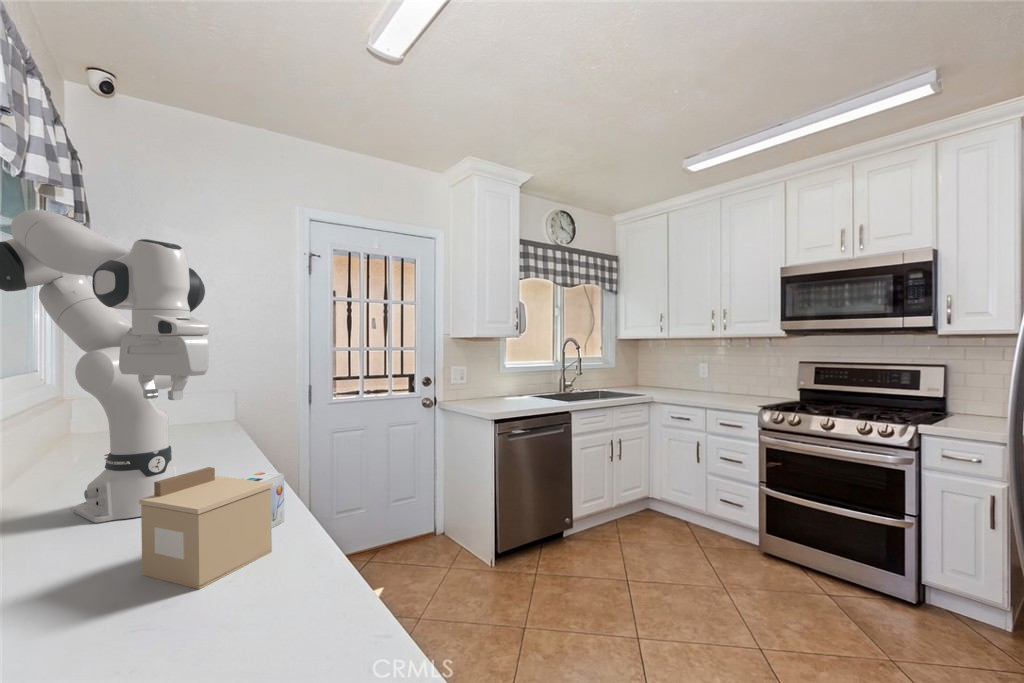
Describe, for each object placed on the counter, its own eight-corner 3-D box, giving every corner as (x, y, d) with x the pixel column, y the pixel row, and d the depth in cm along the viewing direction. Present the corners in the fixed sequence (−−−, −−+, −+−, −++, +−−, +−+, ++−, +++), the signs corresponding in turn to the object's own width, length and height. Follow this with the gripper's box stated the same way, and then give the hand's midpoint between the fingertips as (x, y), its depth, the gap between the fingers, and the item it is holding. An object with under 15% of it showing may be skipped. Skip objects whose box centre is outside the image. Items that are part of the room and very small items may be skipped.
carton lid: (139, 504, 80) (138, 485, 80) (218, 480, 93) (217, 464, 93) (198, 514, 75) (197, 494, 75) (272, 487, 88) (272, 470, 88)
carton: (141, 575, 80) (140, 505, 80) (218, 541, 93) (217, 481, 93) (198, 589, 75) (197, 515, 75) (271, 551, 88) (270, 488, 88)
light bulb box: (250, 541, 93) (249, 487, 93) (221, 538, 95) (220, 485, 94) (286, 520, 104) (285, 472, 104) (259, 518, 105) (259, 470, 105)
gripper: (107, 326, 89) (108, 399, 89) (181, 324, 82) (182, 403, 82) (143, 327, 95) (144, 395, 95) (215, 325, 88) (216, 399, 88)
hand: (162, 399), depth 88 cm, fingers open, 5 cm apart
